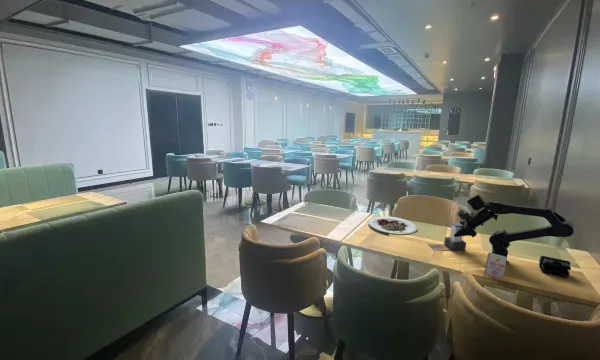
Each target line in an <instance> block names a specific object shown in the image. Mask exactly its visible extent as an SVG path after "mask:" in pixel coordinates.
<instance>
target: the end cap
mask: <svg viewBox="0 0 600 360" xmlns="http://www.w3.org/2000/svg"><path fill="white" fill-rule="evenodd" d="M538 260H539V261H538V263H539V264H538V265H539V266H538V267H539V269H540V271H541V273H542V274H545V275H549V276H554V277H557V278H562V279H566V280H567V279H569V276H570V274H571V273H570V272H569V271H571V270H572V267H571V261H569V260H566V259H565V260H564V259H560V258H555V257H551V256H545V255H541V256H540V257H539V259H538Z"/></svg>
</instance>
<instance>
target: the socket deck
mask: <svg viewBox="0 0 600 360" xmlns="http://www.w3.org/2000/svg"><path fill="white" fill-rule="evenodd" d="M427 246H428V247H429V248H430V249H432V251H433V252H466V246H467V242H466V241H465V240H463V239H462V241H461V242H453V241H451V240H450V236H445V238H444V242H443V243H433V244H432V243H427Z"/></svg>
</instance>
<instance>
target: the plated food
mask: <svg viewBox="0 0 600 360" xmlns="http://www.w3.org/2000/svg"><path fill="white" fill-rule="evenodd" d="M368 225H369V226H370V227H371V228H373V229H374V230H376V231H379V232H382V233H386V234H392V235H410V234H414V233H415V232H417V231H418V226H417V225H416V224H415V223H414V222H412V221H410V220H407V219H405V218H401V217H396V216H382V215H381V216H375V217H371V218H370V219H368Z"/></svg>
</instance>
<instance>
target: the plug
mask: <svg viewBox="0 0 600 360" xmlns="http://www.w3.org/2000/svg"><path fill="white" fill-rule="evenodd" d="M463 226H464V225H463ZM461 227H462V224H460V223H459V222H451V229H450V233H449V234H450V235H449V237H450V240H451V241H453V242H461V241H462V240H463V236H459V237H454V234H455V233H456V232H458V231H459V230H460V229H461Z"/></svg>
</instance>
